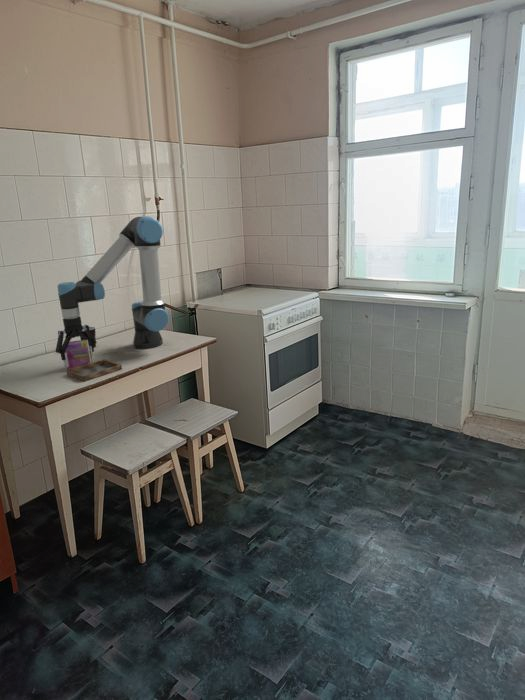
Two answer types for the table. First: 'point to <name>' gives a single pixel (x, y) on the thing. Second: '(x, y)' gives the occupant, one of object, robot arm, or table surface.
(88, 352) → the box
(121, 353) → the table surface
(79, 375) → the tray
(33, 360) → the table surface
